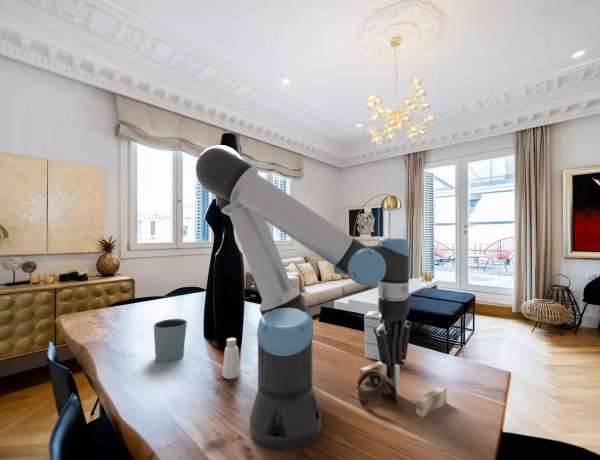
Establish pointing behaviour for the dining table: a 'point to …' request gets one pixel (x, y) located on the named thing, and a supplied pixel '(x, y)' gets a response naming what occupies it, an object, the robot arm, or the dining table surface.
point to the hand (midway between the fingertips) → (393, 389)
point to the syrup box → (371, 334)
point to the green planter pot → (169, 340)
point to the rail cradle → (424, 402)
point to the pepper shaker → (231, 360)
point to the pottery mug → (376, 386)
